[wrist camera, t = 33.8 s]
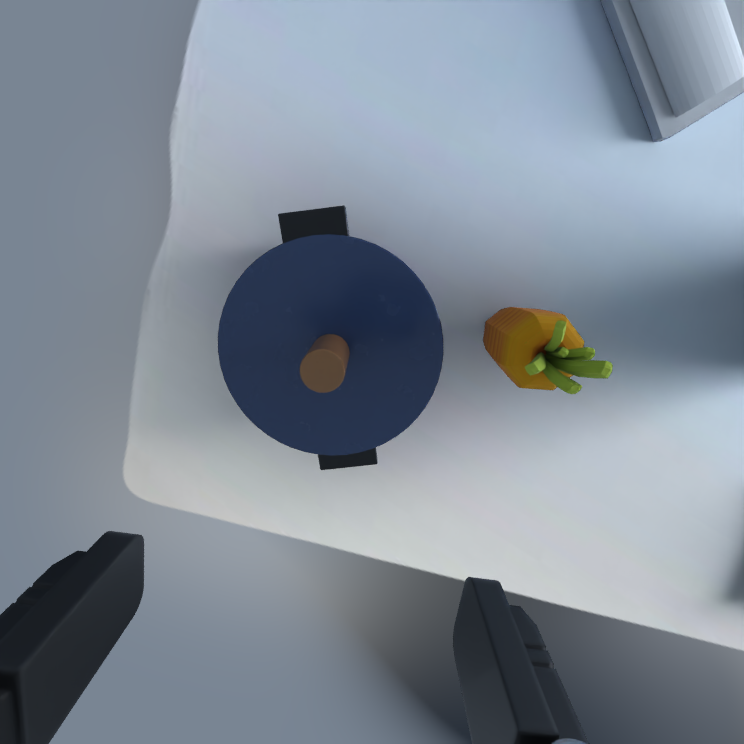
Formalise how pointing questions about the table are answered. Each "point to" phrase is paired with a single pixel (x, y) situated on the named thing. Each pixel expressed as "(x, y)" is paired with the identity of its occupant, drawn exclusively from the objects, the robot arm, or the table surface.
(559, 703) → the robot arm
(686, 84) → the office telephone
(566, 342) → the carrot
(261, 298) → the lid
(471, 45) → the table surface
